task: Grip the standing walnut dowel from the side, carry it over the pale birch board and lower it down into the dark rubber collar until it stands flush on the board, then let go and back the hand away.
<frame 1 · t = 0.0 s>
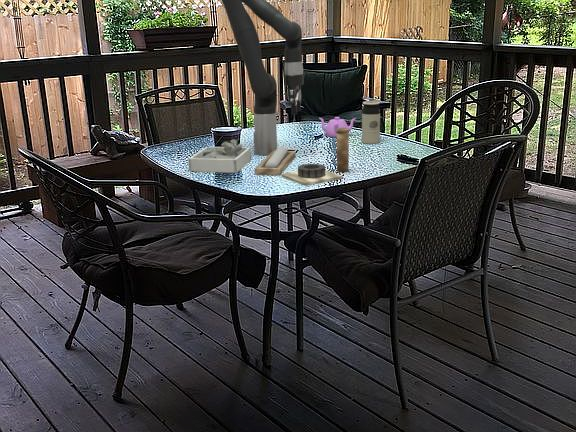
hand: (296, 113, 273), 17 cm above the table, tool pointing down, fingers open, 8 cm apart
dowel: (342, 170, 249), on the table
travel mug: (370, 142, 297), on the table
tube rest: (276, 165, 260), on the table
teapot: (337, 135, 314), on the table
coral tray: (221, 165, 262), on the table
coral: (221, 166, 262), on the table
tube: (276, 166, 260), on the table
collar board: (311, 177, 241), on the table
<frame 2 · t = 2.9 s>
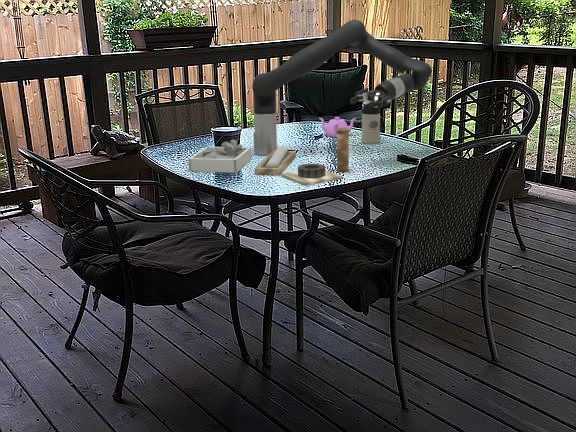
hand: (358, 104, 246), 24 cm above the table, tool horizontal, fingers open, 8 cm apart
coral: (221, 166, 262), on the table, touching coral tray
everything else where it was.
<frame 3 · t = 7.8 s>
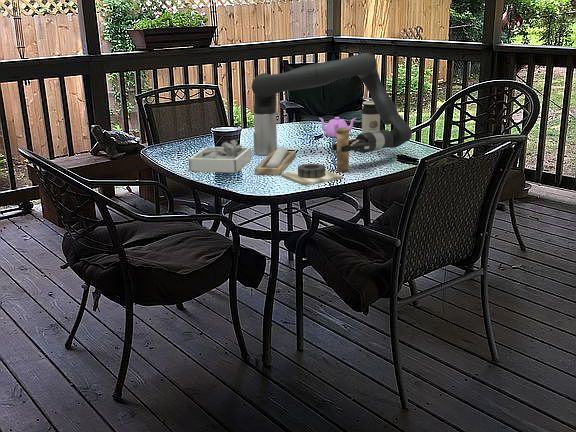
hand: (337, 148, 244), 9 cm above the table, tool horizontal, fingers closed on dowel, 4 cm apart
dowel: (342, 170, 249), on the table, touching gripper
coral: (221, 166, 261), on the table
everything else where it was.
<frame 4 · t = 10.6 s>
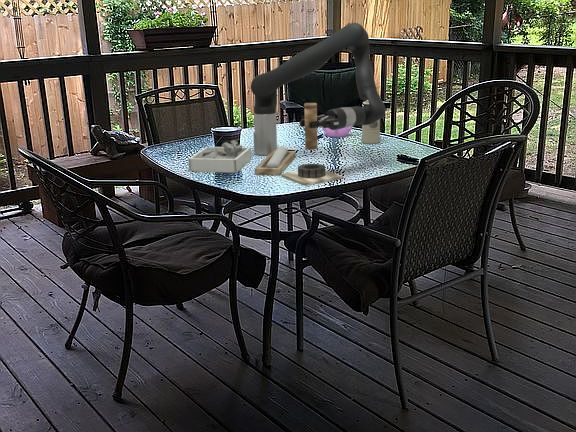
hand: (305, 124, 233), 20 cm above the table, tool horizontal, fingers closed on dowel, 4 cm apart
dowel: (311, 148, 237), point 11 cm above the table, touching gripper
everything else where it was.
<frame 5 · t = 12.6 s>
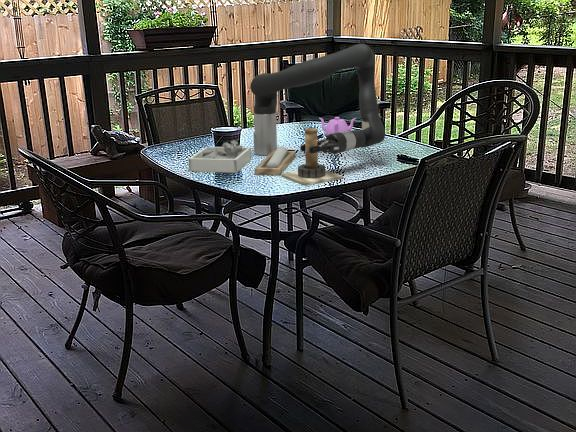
hand: (305, 149, 236), 11 cm above the table, tool horizontal, fingers closed on dowel, 4 cm apart
dowel: (311, 172, 240), point 2 cm above the table, touching gripper
everything else where it was.
when the fingers open (10 cm above the table, at t = 13.2 s): dowel stays where it is, resting on collar board.
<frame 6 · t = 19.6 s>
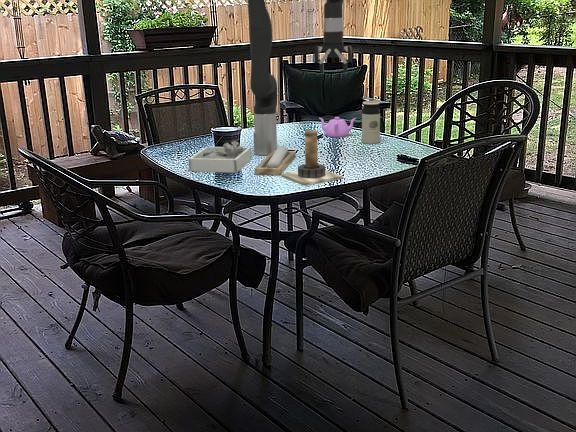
hand: (333, 73, 257), 34 cm above the table, tool pointing down, fingers open, 8 cm apart
dowel: (311, 174, 240), point 1 cm above the table, touching collar board
at the end: dowel 0.1 cm from the collar board (horizontally); dowel point 1.0 cm above the table; dowel tilted 0° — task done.
